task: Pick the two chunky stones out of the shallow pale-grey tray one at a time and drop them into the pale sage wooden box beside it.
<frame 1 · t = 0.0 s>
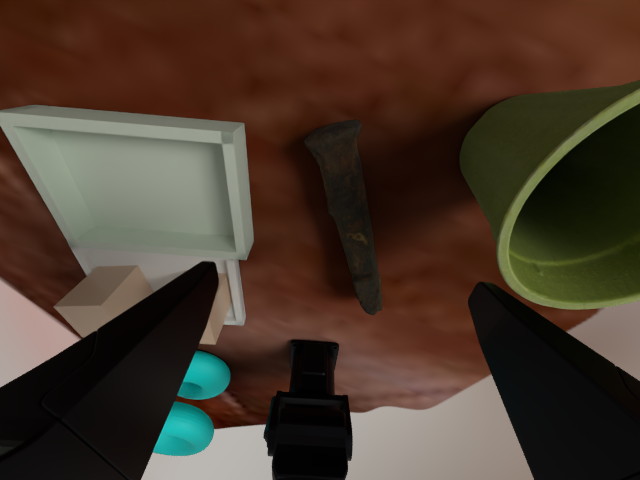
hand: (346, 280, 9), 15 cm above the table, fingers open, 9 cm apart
tray a: (170, 281, 30), on the table
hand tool: (359, 220, 25), on the table
donuts: (200, 363, 40), on the table
bin b: (160, 182, 23), on the table
stone 1: (209, 287, 29), resting on tray a
stone 2: (127, 281, 29), resting on tray a
plant pot: (503, 145, 21), on the table
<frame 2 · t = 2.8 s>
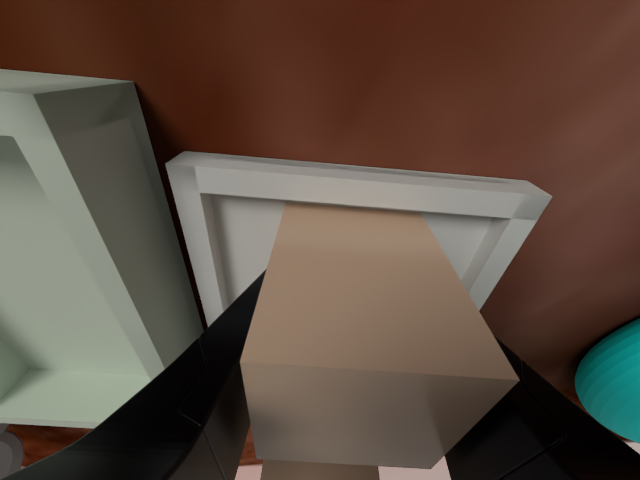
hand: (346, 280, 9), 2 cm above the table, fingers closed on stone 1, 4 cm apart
tray a: (332, 324, 13), on the table
bin b: (64, 276, 12), on the table
stone 1: (344, 260, 10), resting on tray a, touching gripper
stone 2: (324, 381, 15), resting on tray a
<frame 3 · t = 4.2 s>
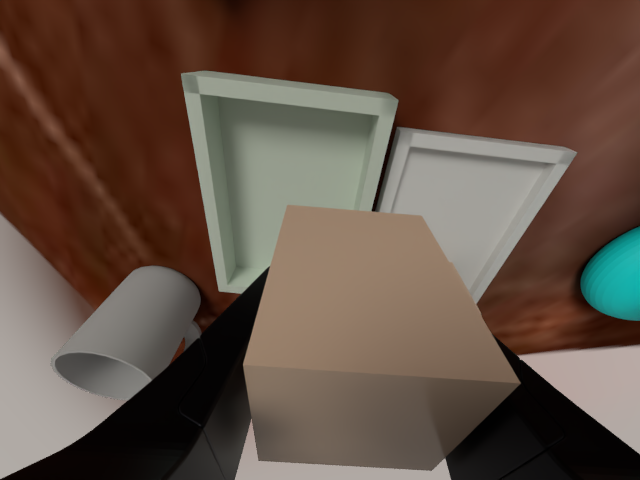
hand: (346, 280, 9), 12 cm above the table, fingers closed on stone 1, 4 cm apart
tray a: (436, 237, 22), on the table
cup: (178, 296, 28), on the table
donuts: (639, 258, 22), on the table
bin b: (292, 199, 20), on the table
stone 1: (345, 262, 10), point 10 cm above the table, touching gripper
when the fingers open (4 cm above the table, at t = 5.5 s): stone 1 drops 2 cm, resting on bin b.
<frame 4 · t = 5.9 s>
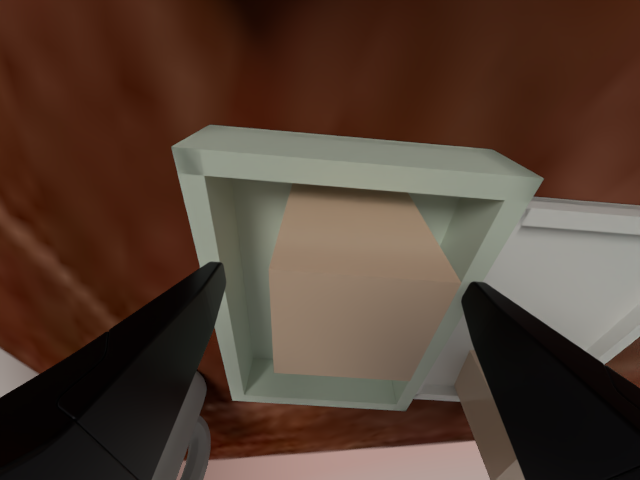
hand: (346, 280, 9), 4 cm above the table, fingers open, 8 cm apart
tray a: (524, 321, 16), on the table
cup: (178, 383, 22), on the table
bin b: (331, 283, 15), on the table
stone 1: (342, 229, 12), point 1 cm above the table, touching bin b
stone 2: (494, 368, 18), resting on tray a
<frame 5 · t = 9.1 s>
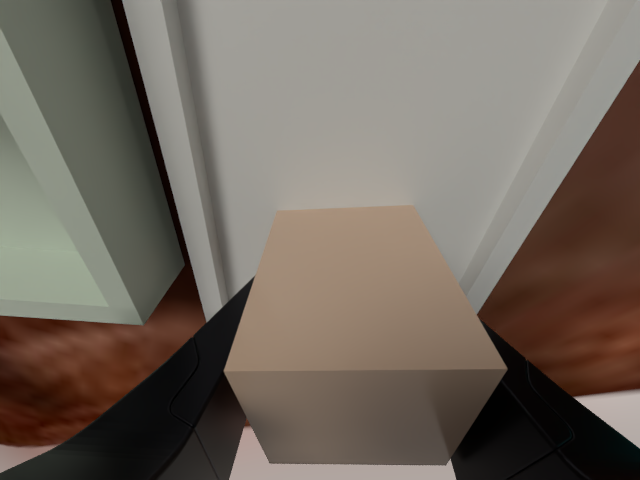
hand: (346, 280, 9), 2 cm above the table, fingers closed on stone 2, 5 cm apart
tray a: (363, 133, 8), on the table
stone 2: (344, 260, 10), resting on tray a, touching gripper
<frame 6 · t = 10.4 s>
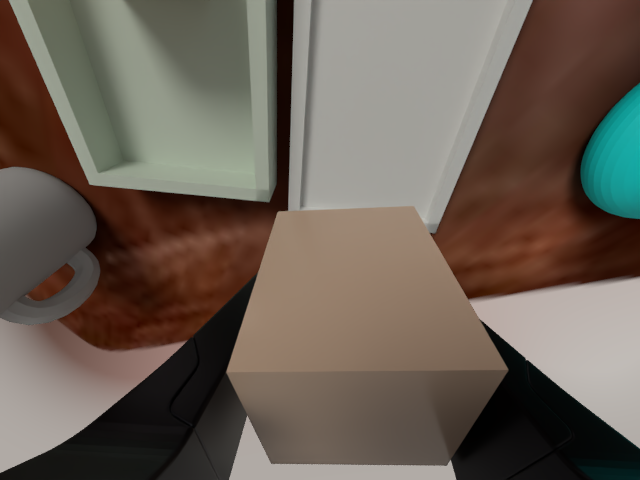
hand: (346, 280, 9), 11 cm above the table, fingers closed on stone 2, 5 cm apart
tray a: (384, 103, 16), on the table
cup: (70, 220, 22), on the table
bin b: (175, 38, 14), on the table
stone 2: (345, 261, 10), point 10 cm above the table, touching gripper
when the fingers open (4 cm above the table, at t = 12.0 s): stone 2 drops 2 cm, resting on bin b.
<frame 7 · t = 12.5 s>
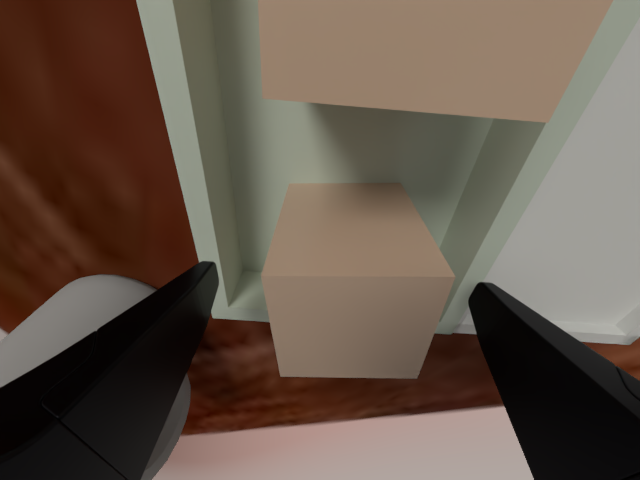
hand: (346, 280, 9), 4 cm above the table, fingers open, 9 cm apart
tray a: (619, 204, 12), on the table
cup: (151, 322, 17), on the table
bin b: (353, 132, 10), on the table
stone 2: (342, 230, 12), point 1 cm above the table, touching bin b
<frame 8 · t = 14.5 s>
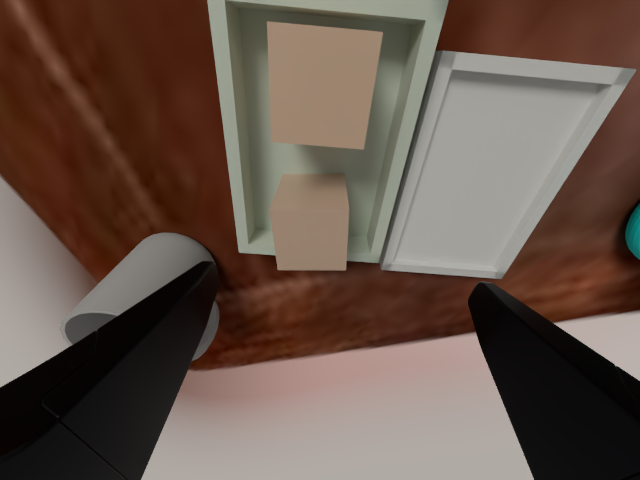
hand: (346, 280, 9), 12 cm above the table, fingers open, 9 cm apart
tray a: (472, 186, 20), on the table
cup: (192, 269, 26), on the table
bin b: (317, 146, 19), on the table
stone 1: (323, 82, 16), point 1 cm above the table, touching bin b
stone 2: (314, 201, 21), point 1 cm above the table, touching bin b
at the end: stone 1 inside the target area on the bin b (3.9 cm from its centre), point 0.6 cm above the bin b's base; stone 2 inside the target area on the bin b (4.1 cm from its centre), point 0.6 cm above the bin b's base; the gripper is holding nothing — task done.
